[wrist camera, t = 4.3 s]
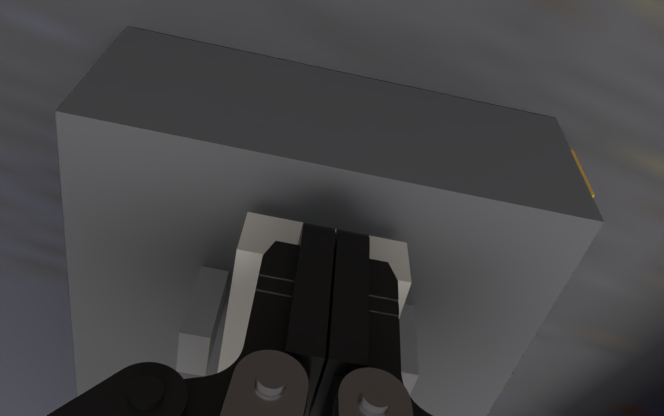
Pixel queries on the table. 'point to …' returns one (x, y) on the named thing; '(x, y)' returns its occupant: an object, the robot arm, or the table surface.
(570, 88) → the table surface
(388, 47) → the table surface
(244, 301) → the plate
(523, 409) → the table surface
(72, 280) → the switch unit
